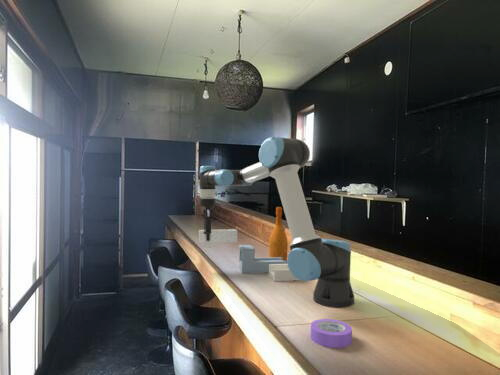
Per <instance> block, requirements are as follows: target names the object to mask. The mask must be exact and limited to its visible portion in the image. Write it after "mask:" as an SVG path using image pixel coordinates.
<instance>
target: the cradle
mask: <svg viewBox="0 0 500 375" xmlns="http://www.w3.org/2000/svg"><path fill="white" fill-rule="evenodd" d="M268 276H269V277H270V278H271V280H272V281H273V282H294V281H293V280H298V281H299V279H297V278H296V277H294V276H293V274H292V273H291V272H290V270H289V268H288V264H269V272H268Z"/></svg>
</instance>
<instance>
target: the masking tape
mask: <svg viewBox="0 0 500 375" xmlns="http://www.w3.org/2000/svg"><path fill="white" fill-rule="evenodd" d="M310 340H311V341H314V342H313V343H314V344H317V345H319V346H322V347H326V348H331V349H332V348H333V349H341V348H346V347H348V346H350V345H351V344H352V343H353V342H352V341H353V328H352V326H351V325H349V324H348V323H346V322H345V321H341V320H338V319H332V318H321V319H319V318H318V319H316V320H313V321H312V322H311V323H310Z"/></svg>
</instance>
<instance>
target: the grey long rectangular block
mask: <svg viewBox="0 0 500 375" xmlns="http://www.w3.org/2000/svg"><path fill="white" fill-rule="evenodd" d="M204 233H205V230H204V229H198V242H199V244H204V243H205V234H204ZM213 243H238V230H237V229H236V228H226V229H224V228H223V229H222V228H221V229H220V228H219V229H211V244H213Z"/></svg>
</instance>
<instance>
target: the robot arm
mask: <svg viewBox="0 0 500 375" xmlns="http://www.w3.org/2000/svg"><path fill="white" fill-rule="evenodd" d="M310 156H311V152H310V147H309V146H308V144H307V143H306V142H304V141H303V140H301V139H298V138H290V137H289V138H288V137H281V136H269V137H268V138H266V139H265V140H264V141H262V143H261V145H260V148H259V151H258V159H259V162H256V163H253V164H251V165H249V166H247V167H244V168H242V169H224V168H222V169H216V166H214V165H202V166H200V167H199V174H198V175H199V207H204V209H203V210H202V213H203V230H205V233H204V234H205V243H203V245H204V248H205V249H206V248H207V249H208V248H210V249H211V247H212V243H211V230H212V213H213V210H212V209H211V208H212V207H216V199H215V198H216V194H217V191H216V187H240V186H241V187H247V186H252V185H253V183H254V182H257V181H261V180H263V179H265V178H268V177H271V178H273V179H274V180H275V184H276V187H277V191H278V194H279V198H280V201H281V205H282V207H283V208H282V210H283V213H284V215H285V219H286V222H287V226H288V230H289V234H290V236H291V242H290V244H289V250H290V251H289V252H288V253H287V264H288V268H289V270H290V272H291V273H292V274H293V276H294V277H296V278H297V279H298V281H301V282H309V281H310V282H311V281H316V280H317V282H316V285H315V287H314V290H313V292H312V293H313V294H312V295H313V296H312V297H313V298H312V299H313V301H314V302H315V303H317V304H320V305H322V306H326V307H332V308H344V307H345V308H346V307H350V306H352V305H354V304H355V294H354V291H353V288H352V284H351V260H352V259H351V257H352V255H351V254H352V251H351V244H350V242H348V241H345V240H341V239H333V238H322V237H321V236H319V235H318V234H316V232H315V228H314V225H313V221H312V218H311V214H310V211H309V207H308V204H307V201H306V198H305V194H304V191H303V188H302V184H301V181H300V177H299V174H298V171H299V169H301V168H303V167H305V165H307V164H308V161H310Z"/></svg>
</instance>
